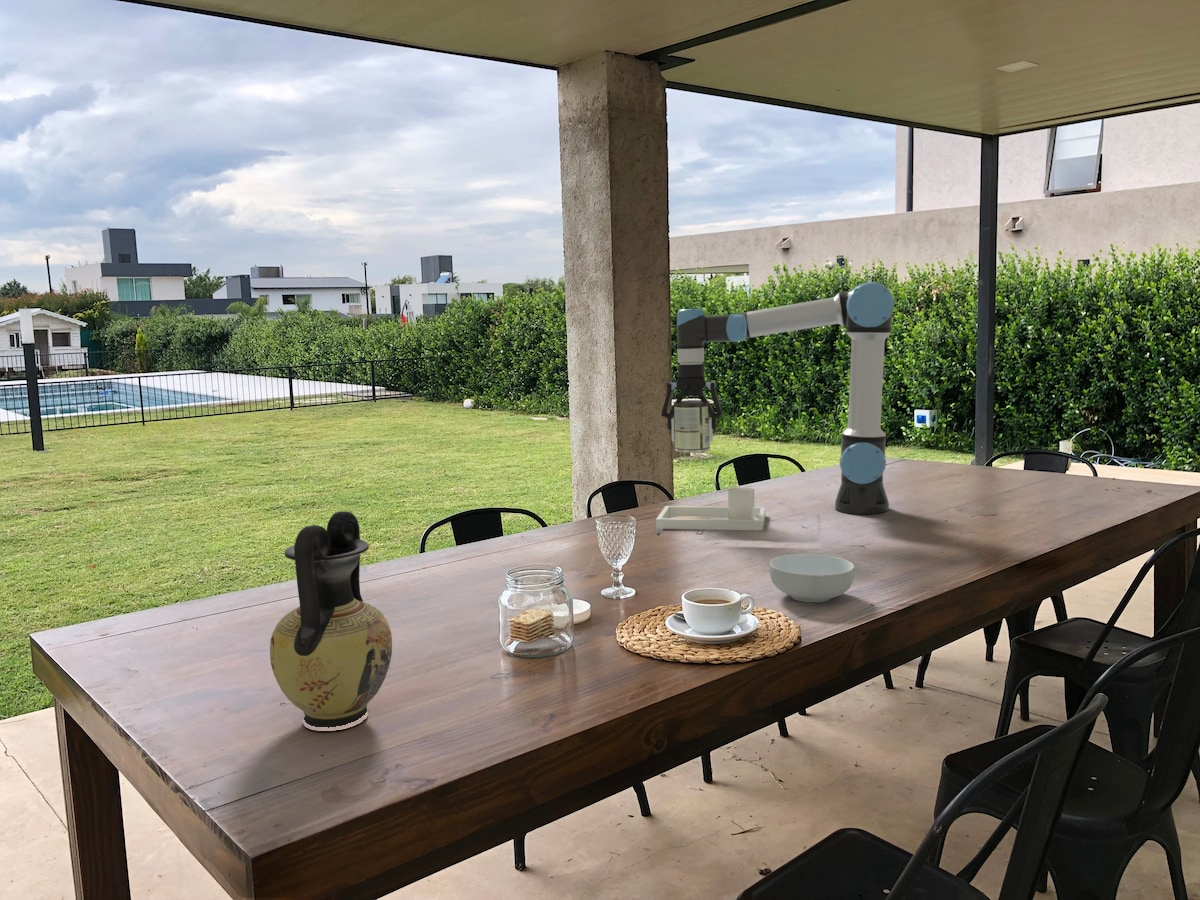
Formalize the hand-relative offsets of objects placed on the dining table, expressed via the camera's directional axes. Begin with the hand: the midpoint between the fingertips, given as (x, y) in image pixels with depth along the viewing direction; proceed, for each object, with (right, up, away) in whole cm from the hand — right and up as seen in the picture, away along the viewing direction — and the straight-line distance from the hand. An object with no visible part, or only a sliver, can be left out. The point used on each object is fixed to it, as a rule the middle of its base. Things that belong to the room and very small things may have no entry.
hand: (692, 440), depth 267 cm
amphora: (-65, -42, -132) cm, 153 cm away
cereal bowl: (+16, -33, -80) cm, 88 cm away
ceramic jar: (+12, -22, -16) cm, 30 cm away
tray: (+4, -24, -14) cm, 28 cm away
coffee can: (0, -3, 0) cm, 3 cm away
